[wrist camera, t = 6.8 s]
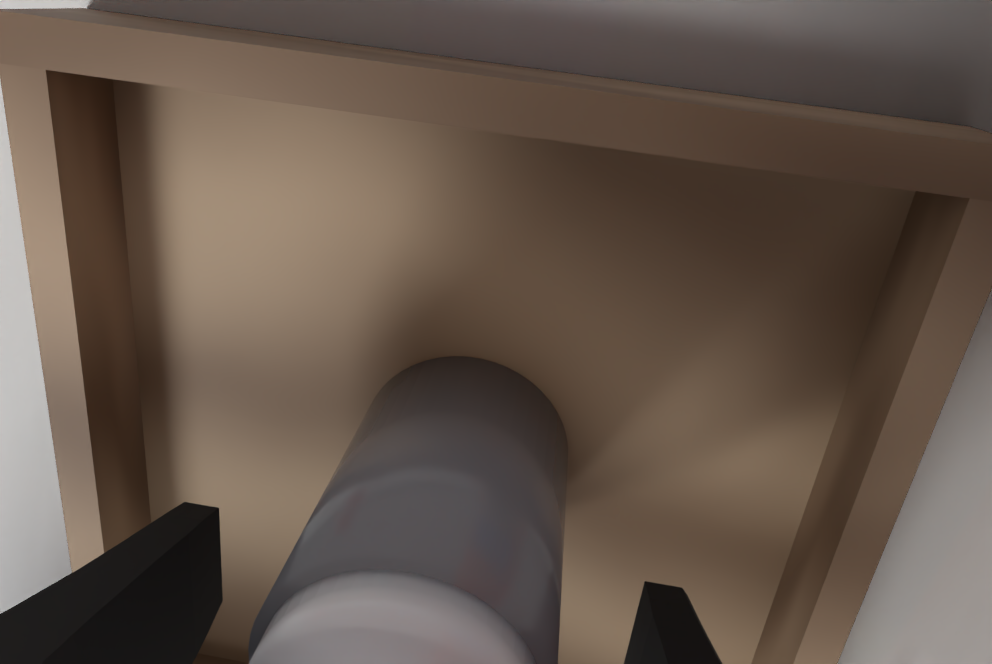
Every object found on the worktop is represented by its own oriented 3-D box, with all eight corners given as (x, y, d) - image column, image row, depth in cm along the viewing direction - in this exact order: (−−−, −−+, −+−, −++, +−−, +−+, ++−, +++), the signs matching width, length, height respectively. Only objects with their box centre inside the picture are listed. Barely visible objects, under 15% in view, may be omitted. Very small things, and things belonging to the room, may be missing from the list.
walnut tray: (741, 757, 20) (759, 851, 17) (146, 646, 21) (93, 722, 18) (971, 126, 13) (1048, 151, 11) (84, 8, 14) (-10, 9, 12)
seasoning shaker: (560, 542, 17) (541, 876, 10) (366, 522, 17) (235, 830, 11) (576, 365, 15) (566, 638, 9) (359, 347, 15) (197, 594, 9)
